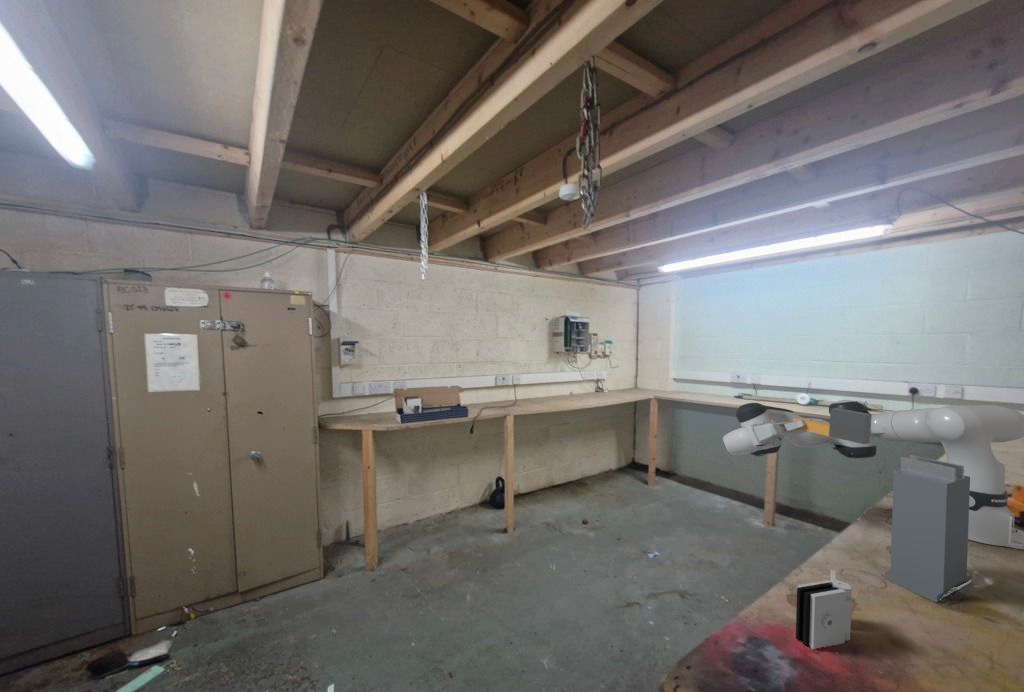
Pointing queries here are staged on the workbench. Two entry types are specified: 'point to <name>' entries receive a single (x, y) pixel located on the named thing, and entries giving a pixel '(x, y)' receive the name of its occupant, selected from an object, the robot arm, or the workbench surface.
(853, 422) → the bar
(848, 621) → the hinge
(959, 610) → the workbench surface
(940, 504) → the stand
